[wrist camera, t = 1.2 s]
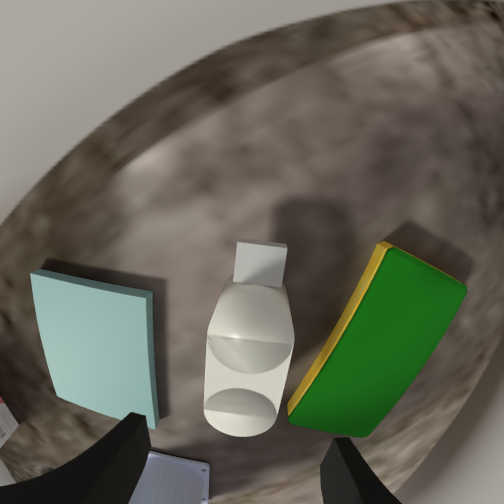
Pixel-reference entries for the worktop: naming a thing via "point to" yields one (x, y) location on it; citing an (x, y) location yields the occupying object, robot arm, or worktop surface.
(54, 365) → the teal mat
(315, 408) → the dish sponge
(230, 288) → the white rounded piece
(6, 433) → the ink cartridge box
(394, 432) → the worktop surface
